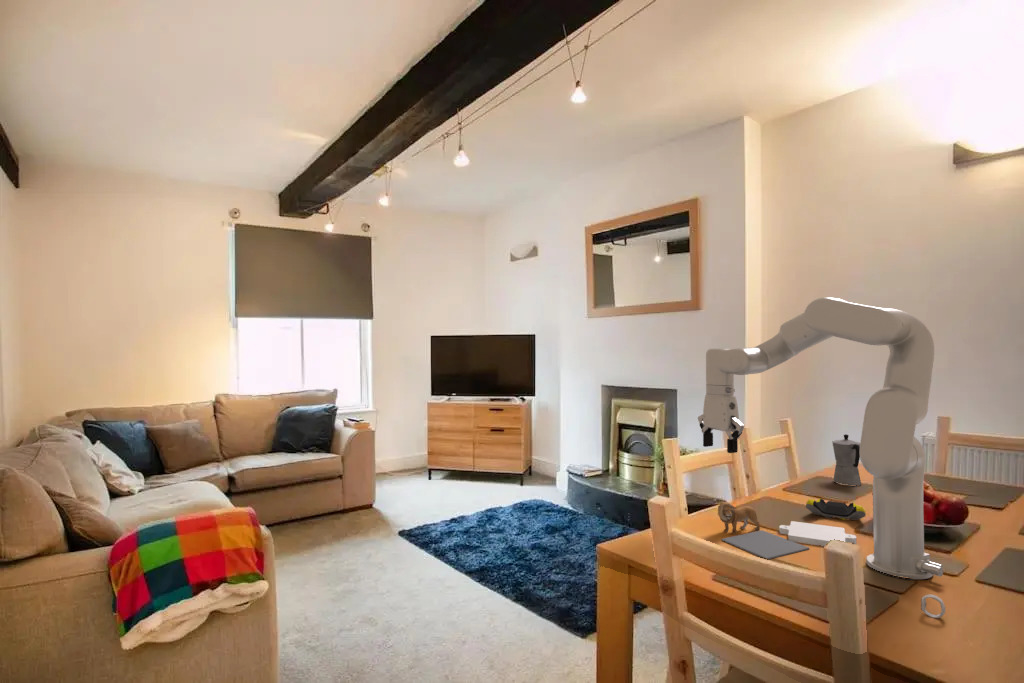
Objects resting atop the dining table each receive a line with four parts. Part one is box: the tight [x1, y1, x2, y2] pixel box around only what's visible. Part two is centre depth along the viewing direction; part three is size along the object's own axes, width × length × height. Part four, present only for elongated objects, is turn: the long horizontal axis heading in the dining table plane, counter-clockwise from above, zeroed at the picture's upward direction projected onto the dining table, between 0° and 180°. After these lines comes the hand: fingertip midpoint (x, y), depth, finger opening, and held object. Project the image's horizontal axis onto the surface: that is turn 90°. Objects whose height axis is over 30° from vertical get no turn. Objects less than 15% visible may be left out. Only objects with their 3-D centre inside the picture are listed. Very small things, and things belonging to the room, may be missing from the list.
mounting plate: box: [778, 520, 857, 547], centre depth 146 cm, size 18×13×2 cm
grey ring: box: [920, 593, 946, 619], centre depth 103 cm, size 4×2×4 cm, turn 47°
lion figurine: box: [717, 501, 761, 536], centre depth 151 cm, size 15×5×9 cm, turn 117°
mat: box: [720, 529, 810, 560], centre depth 141 cm, size 14×15×1 cm
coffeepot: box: [831, 433, 862, 486], centre depth 198 cm, size 15×9×18 cm, turn 175°
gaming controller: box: [805, 498, 867, 521], centre depth 162 cm, size 15×6×10 cm
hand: (719, 449), depth 158 cm, fingers open, 9 cm apart
